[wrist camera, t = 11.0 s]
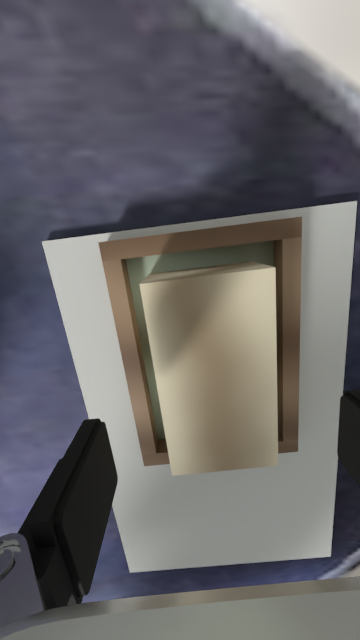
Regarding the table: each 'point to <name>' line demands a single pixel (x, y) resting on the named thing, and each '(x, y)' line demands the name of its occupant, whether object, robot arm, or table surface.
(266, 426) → the tall cream rectangular prism
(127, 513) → the mat
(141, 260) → the frame
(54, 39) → the table surface
